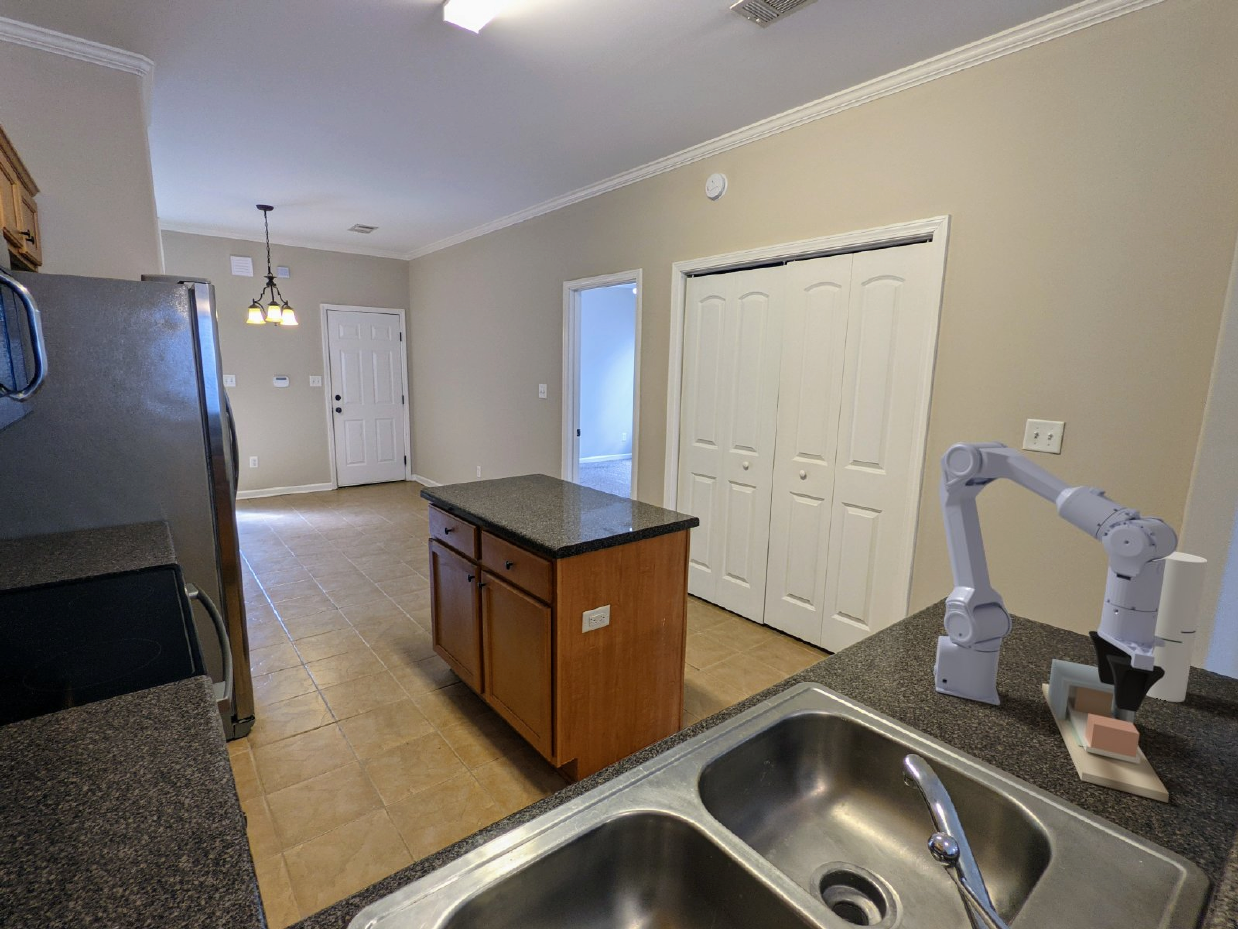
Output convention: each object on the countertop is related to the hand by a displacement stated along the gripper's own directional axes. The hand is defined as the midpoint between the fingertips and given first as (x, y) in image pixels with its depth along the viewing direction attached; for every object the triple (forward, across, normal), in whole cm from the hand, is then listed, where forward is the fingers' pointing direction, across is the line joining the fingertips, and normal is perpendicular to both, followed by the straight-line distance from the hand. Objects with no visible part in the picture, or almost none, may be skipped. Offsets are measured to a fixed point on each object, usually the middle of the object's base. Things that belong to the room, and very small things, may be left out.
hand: (1117, 695), depth 82 cm
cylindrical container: (+10, +30, -14) cm, 34 cm away
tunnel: (+10, +12, 0) cm, 15 cm away
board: (+10, +6, 0) cm, 12 cm away
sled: (+9, +7, 0) cm, 11 cm away
